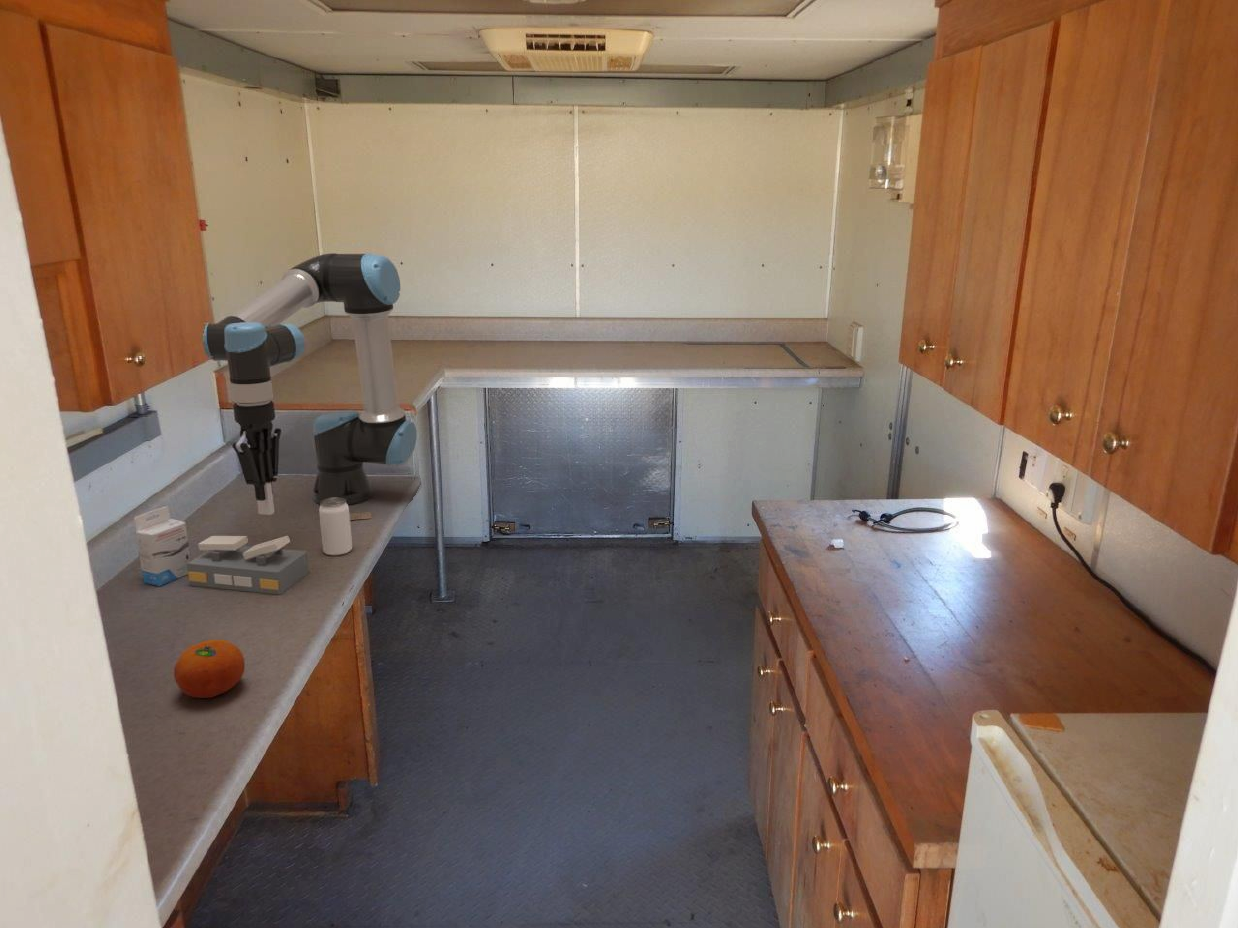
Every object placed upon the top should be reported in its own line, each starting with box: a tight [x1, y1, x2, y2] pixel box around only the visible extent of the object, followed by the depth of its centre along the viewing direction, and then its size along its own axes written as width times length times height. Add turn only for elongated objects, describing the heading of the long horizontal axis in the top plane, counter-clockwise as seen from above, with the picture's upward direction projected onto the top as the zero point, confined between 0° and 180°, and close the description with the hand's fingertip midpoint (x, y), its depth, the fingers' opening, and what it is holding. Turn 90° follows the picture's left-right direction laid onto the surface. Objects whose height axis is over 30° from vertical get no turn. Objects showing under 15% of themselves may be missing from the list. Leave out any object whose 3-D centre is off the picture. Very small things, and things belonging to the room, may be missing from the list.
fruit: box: [173, 638, 246, 699], centre depth 144 cm, size 11×10×8 cm
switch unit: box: [187, 545, 310, 596], centre depth 185 cm, size 11×21×7 cm, turn 78°
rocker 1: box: [198, 535, 249, 555], centre depth 185 cm, size 5×8×2 cm, turn 78°
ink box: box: [133, 505, 192, 587], centre depth 185 cm, size 9×5×15 cm, turn 154°
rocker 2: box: [242, 535, 291, 559], centre depth 183 cm, size 5×8×2 cm, turn 78°
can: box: [318, 498, 353, 557], centre depth 199 cm, size 6×6×12 cm
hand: (266, 512), depth 180 cm, fingers closed
